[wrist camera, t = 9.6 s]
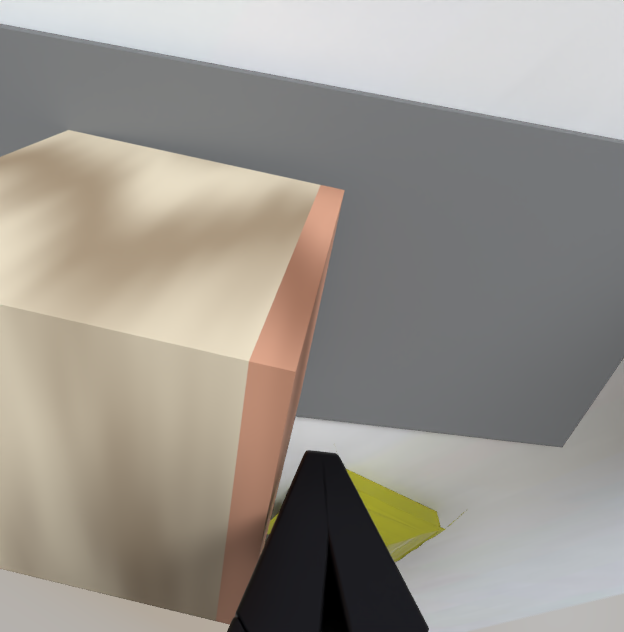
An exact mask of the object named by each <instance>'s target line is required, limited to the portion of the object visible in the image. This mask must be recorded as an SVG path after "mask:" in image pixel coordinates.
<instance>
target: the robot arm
mask: <svg viewBox="0 0 624 632" xmlns="http://www.w3.org/2000/svg"><path fill="white" fill-rule="evenodd" d="M428 630H429V628H428V625H427V624H426V622H425V620H424V618H423V616H422V614H421V612H420V610H419V608H418V606H417V604H416V602H415V601H414V599H413V597H412V595H411V593H410V591H409V589H408V587H407V585H406V583H405V581H404V579H403V578H402V576H401V574H400V572H399V570H398V568H397V566H396V564H395V562H394V560H393V558H392V556H391V555H390V553H389V551H388V549H387V547H386V545H385V543H384V541H383V539H382V537H381V535H380V533H379V532H378V530H377V528H376V526H375V524H374V522H373V520H372V518H371V516H370V514H369V512H368V510H367V509H366V507H365V505H364V503H363V501H362V499H361V497H360V495H359V493H358V491H357V489H356V487H355V486H354V484H353V482H352V480H351V478H350V476H349V474H348V472H347V470H346V468H345V466H344V464H343V463H342V461H341V459H340V457H339V456H338V455H337V454H335V453H328V452H319V451H310V450H308V451H306V452H305V454H304V456H303V458H302V460H301V463H300V465H299V467H298V469H297V472H296V474H295V476H294V479H293V481H292V483H291V486H290V488H289V490H288V493H287V495H286V497H285V500H284V502H283V504H282V506H281V509H280V511H279V513H278V516H277V518H276V520H275V523H274V525H273V527H272V530H271V532H270V534H269V536H268V539H267V541H266V543H265V546H264V548H263V550H262V553H261V555H260V557H259V560H258V562H257V564H256V567H255V569H254V571H253V573H252V576H251V578H250V580H249V583H248V585H247V587H246V590H245V592H244V594H243V597H242V599H241V601H240V604H239V606H238V608H237V610H236V613H235V617H234V618H233V619H232V621H231V624H230V626H229V628H228V631H227V632H428Z"/></svg>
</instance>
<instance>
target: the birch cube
mask: <svg viewBox="0 0 624 632" xmlns="http://www.w3.org/2000/svg"><path fill="white" fill-rule="evenodd" d="M344 191H345V190H342V189H337V188H333V187H328V186H323V185H319V184H314V183H310V182H305V181H300V180H296V179H291V178H287V177H282V176H278V175H273V174H268V173H264V172H259V171H255V170H250V169H246V168H241V167H236V166H232V165H227V164H223V163H218V162H213V161H209V160H204V159H200V158H195V157H191V156H186V155H181V154H177V153H172V152H168V151H163V150H158V149H154V148H149V147H145V146H140V145H136V144H131V143H126V142H122V141H117V140H113V139H108V138H104V137H99V136H94V135H90V134H85V133H81V132H76V131H71V130H67V131H65V132H62V133H60V134H57V135H54V136H52V137H49V138H47V139H44V140H42V141H39V142H37V143H34V144H32V145H29V146H27V147H24V148H22V149H19V150H17V151H14V152H11V153H9V154H6V155H4V156H1V157H0V569H4V570H8V571H12V572H16V573H21V574H24V575H28V576H32V577H36V578H41V579H45V580H49V581H53V582H57V583H61V584H66V585H69V586H73V587H78V588H82V589H86V590H90V591H94V592H98V593H102V594H106V595H111V596H115V597H119V598H123V599H127V600H131V601H135V602H139V603H144V604H148V605H152V606H156V607H160V608H164V609H169V610H172V611H177V612H181V613H185V614H189V615H193V616H197V617H201V618H205V619H209V620H214V621H218V622H222V623H226V624H231V621H232V619H233V618H234V617H235V613H236V610H237V608H238V606H239V604H240V601H241V599H242V597H243V594H244V592H245V590H246V587H247V585H248V583H249V580H250V578H251V576H252V573H253V571H254V569H255V567H256V564H257V562H258V560H259V557H260V555H261V553H262V550H263V548H264V544H265V540H266V536H267V532H268V528H269V523H270V519H271V515H272V511H273V507H274V503H275V499H276V494H277V490H278V486H279V482H280V478H281V474H282V470H283V465H284V461H285V457H286V453H287V449H288V445H289V441H290V436H291V432H292V428H293V424H294V420H295V416H296V411H297V407H298V403H299V399H300V395H301V390H302V385H303V381H304V376H305V371H306V367H307V362H308V358H309V353H310V348H311V344H312V339H313V334H314V330H315V325H316V320H317V316H318V311H319V307H320V302H321V297H322V293H323V288H324V283H325V279H326V274H327V269H328V265H329V260H330V255H331V251H332V246H333V242H334V237H335V232H336V228H337V223H338V218H339V214H340V209H341V204H342V200H343V195H344Z"/></svg>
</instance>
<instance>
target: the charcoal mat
mask: <svg viewBox="0 0 624 632" xmlns="http://www.w3.org/2000/svg"><path fill="white" fill-rule="evenodd" d="M67 130H71V131H76V132H81V133H85V134H90V135H94V136H99V137H104V138H108V139H113V140H117V141H122V142H126V143H131V144H136V145H140V146H145V147H149V148H154V149H158V150H163V151H168V152H172V153H177V154H181V155H186V156H191V157H195V158H200V159H204V160H209V161H213V162H218V163H223V164H227V165H232V166H236V167H241V168H246V169H250V170H255V171H259V172H264V173H268V174H273V175H278V176H282V177H287V178H291V179H296V180H300V181H305V182H310V183H314V184H319V185H323V186H328V187H333V188H337V189H342V190H345V191H344V195H343V200H342V204H341V209H340V214H339V218H338V223H337V228H336V232H335V237H334V242H333V246H332V251H331V255H330V260H329V265H328V269H327V274H326V279H325V283H324V288H323V293H322V297H321V302H320V307H319V311H318V316H317V320H316V325H315V330H314V334H313V339H312V344H311V348H310V353H309V358H308V362H307V367H306V371H305V376H304V381H303V385H302V390H301V395H300V399H299V403H298V407H297V411H296V416H297V417H306V418H314V419H323V420H332V421H340V422H349V423H357V424H366V425H375V426H383V427H392V428H400V429H409V430H418V431H426V432H435V433H443V434H452V435H460V436H469V437H478V438H486V439H495V440H503V441H512V442H521V443H529V444H538V445H546V446H555V447H563V445H564V444H565V442H566V441H567V439H568V438H569V437H570V435H571V434H572V432H573V431H574V429H575V428H576V426H577V425H578V423H579V422H580V421H581V419H582V418H583V416H584V415H585V413H586V412H587V410H588V409H589V407H590V406H591V405H592V403H593V402H594V400H595V399H596V397H597V396H598V394H599V393H600V391H601V390H602V389H603V387H604V386H605V384H606V383H607V381H608V380H609V378H610V377H611V375H612V374H613V373H614V371H615V370H616V368H617V367H618V365H619V364H620V362H621V361H622V359H623V358H624V141H623V140H618V139H613V138H607V137H602V136H597V135H591V134H586V133H581V132H575V131H570V130H565V129H559V128H554V127H549V126H543V125H538V124H533V123H527V122H522V121H517V120H511V119H506V118H501V117H495V116H490V115H484V114H479V113H474V112H468V111H463V110H458V109H452V108H447V107H442V106H436V105H431V104H426V103H420V102H415V101H410V100H404V99H399V98H394V97H388V96H383V95H378V94H372V93H367V92H362V91H356V90H351V89H346V88H340V87H335V86H329V85H324V84H319V83H313V82H308V81H303V80H297V79H292V78H287V77H281V76H276V75H271V74H265V73H260V72H255V71H249V70H244V69H239V68H233V67H228V66H223V65H217V64H212V63H207V62H201V61H196V60H191V59H185V58H180V57H175V56H169V55H164V54H158V53H153V52H148V51H142V50H137V49H132V48H126V47H121V46H116V45H110V44H105V43H100V42H94V41H89V40H84V39H78V38H73V37H68V36H62V35H57V34H52V33H46V32H41V31H36V30H30V29H25V28H20V27H14V26H9V25H3V24H0V157H1V156H4V155H6V154H9V153H11V152H14V151H17V150H19V149H22V148H24V147H27V146H29V145H32V144H34V143H37V142H39V141H42V140H44V139H47V138H49V137H52V136H54V135H57V134H60V133H62V132H65V131H67Z"/></svg>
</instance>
